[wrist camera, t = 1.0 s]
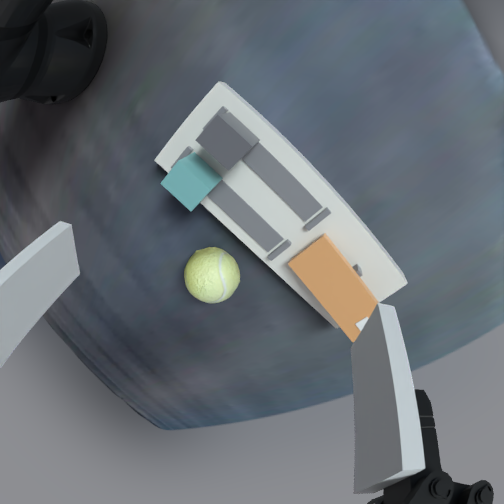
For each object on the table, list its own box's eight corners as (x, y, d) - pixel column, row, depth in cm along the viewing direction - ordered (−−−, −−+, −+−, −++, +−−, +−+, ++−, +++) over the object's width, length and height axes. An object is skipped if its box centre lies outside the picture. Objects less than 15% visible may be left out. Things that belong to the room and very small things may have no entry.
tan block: (290, 260, 32) (287, 264, 31) (325, 233, 30) (323, 236, 29) (353, 336, 33) (352, 342, 31) (388, 315, 30) (388, 321, 29)
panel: (162, 156, 31) (148, 163, 28) (224, 82, 26) (214, 80, 23) (335, 318, 38) (336, 336, 35) (403, 274, 33) (410, 290, 30)
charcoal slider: (209, 134, 27) (195, 140, 24) (230, 112, 26) (217, 114, 22) (239, 161, 28) (228, 171, 24) (260, 140, 26) (252, 146, 23)
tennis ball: (190, 318, 34) (239, 306, 31) (163, 269, 32) (211, 251, 30) (210, 292, 39) (254, 280, 37) (188, 248, 38) (232, 231, 35)
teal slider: (177, 172, 30) (160, 183, 26) (194, 152, 28) (178, 160, 25) (205, 197, 30) (191, 211, 27) (223, 178, 29) (210, 190, 26)
